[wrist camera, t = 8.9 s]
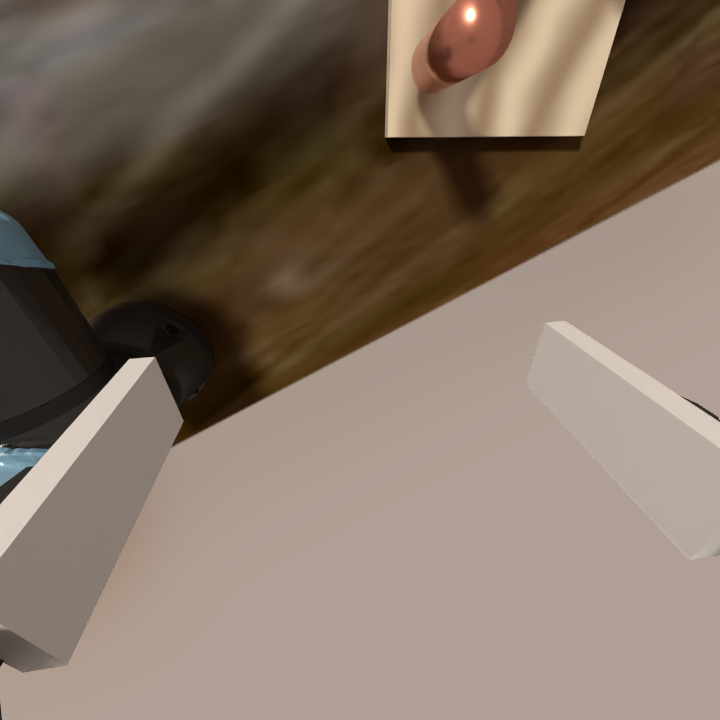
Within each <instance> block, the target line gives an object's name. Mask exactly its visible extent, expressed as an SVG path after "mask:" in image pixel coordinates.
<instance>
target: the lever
mask: <svg viewBox="0 0 720 720" xmlns="http://www.w3.org/2000/svg"><path fill="white" fill-rule="evenodd" d="M515 24H516V5H515V0H455V2H454V3H453V4H452V5H451V7H450V8H449V9H448V10H447V11H446V12H445V13H444V14H443V16H442V17H441V18H440V19H439V20H438V21H437V22H436V23H435V25H434V26H433V27H432V28H431V29H430V30H429V31H428V33H427V34H426V35H425V36H424V37H423V38H422V39H421V40H420V42H419V43H418V45H417V46H416V48H415V50H414V53H413V57H412V63H411V70H412V76H413V79H414V82H415V84H416V85H417V87H418V88H419V89H420V90H421V91H422V92H424V93H427V94H437V93H439V92H441V91H443V90H445V89H447V88H449V87H451V86H453V85H455V84H457V83H459V82H461V81H463V80H465V79H467V78H469V77H471V76H473V75H475V74H477V73H479V72H480V71H482V70H484V69H486V68H488V67H490V66H492V65H493V64H495V63H496V62H497V61H498V60H499V59H500V58H501V57H502V56H503V54H504V53H505V51H506V50H507V48H508V46H509V44H510V42H511V40H512V37H513V34H514V30H515Z"/></svg>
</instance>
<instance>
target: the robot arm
mask: <svg viewBox="0 0 720 720" xmlns="http://www.w3.org/2000/svg"><path fill="white" fill-rule="evenodd" d="M54 269H55V266H54V265H53V264H52V262H49V261H47V259H46V258H45V257H44V255H43V254H42V253H41V252H40V250H39V249H38V248H37V246H36V245H35V243H34V242H33V241H32V239H31V238H30V237H29V235H28V234H27V232H26V231H25V230H24V228H23V227H22V226H21V225H20V223H18V222H17V221H16V220H15V219H14V218H12V217H11V216H9V215H8V214H6V213H4V212H2V211H0V666H1V665H2V663H3V662H4V663H6V664H7V665H9V666H11V667H13V668H15V669H17V670H19V671H21V672H29V671H35V670H41V669H47V668H53V667H59V666H65V665H67V664H68V662H69V660H70V658H71V655H72V654H73V651H74V650H75V648H76V645H77V643H78V641H79V639H80V637H81V635H82V633H83V631H84V629H85V627H86V625H87V622H88V620H89V618H90V616H91V614H92V612H93V610H94V607H95V606H96V604H97V601H98V599H99V597H100V595H101V593H102V591H103V589H104V587H105V585H106V582H107V581H108V578H109V576H110V574H111V572H112V570H113V568H114V566H115V563H116V562H117V559H118V557H119V555H120V553H121V551H122V549H123V547H124V545H125V543H126V541H127V538H128V536H129V534H130V532H131V530H132V528H133V526H134V524H135V522H136V519H137V517H138V516H139V513H140V511H141V509H142V507H143V505H144V503H145V501H146V499H147V497H148V495H149V492H150V490H151V488H152V486H153V484H154V482H155V480H156V478H157V476H158V474H159V472H160V469H161V467H162V465H163V463H164V461H165V459H166V457H167V455H168V453H169V451H170V448H171V446H172V444H173V442H174V440H175V438H176V436H177V434H178V432H179V430H180V427H181V425H182V423H183V419H182V416H181V414H180V412H179V410H178V409H179V408H180V407H182V406H183V405H184V404H186V403H187V401H189V400H191V399H192V398H194V397H195V396H196V395H197V394H199V393H200V391H201V390H202V389H203V388H204V386H205V385H206V383H207V381H208V379H209V377H210V375H211V373H212V369H213V353H212V349H211V347H210V344H209V342H208V340H207V339H206V337H205V336H204V334H203V333H202V332H201V331H200V329H199V328H198V327H197V326H196V325H195V324H193V323H192V322H191V321H190V320H189V319H187V318H186V317H184V316H183V315H181V314H179V313H178V312H176V311H174V310H172V309H169V308H167V307H164V306H161V305H158V304H153V303H148V302H125V303H120V304H117V305H114V306H111V307H109V308H107V309H106V310H104V311H103V312H102V313H100V314H99V315H97V316H96V317H95V318H94V319H92V320H91V321H90V322H89V323H88V322H87V320H86V319H85V317H84V316H83V314H82V313H81V311H80V310H79V308H78V306H77V305H76V303H75V302H74V300H73V299H72V297H71V295H70V294H69V292H68V291H67V289H66V288H65V286H64V284H63V283H62V281H61V280H60V278H59V277H58V275H57V273H56V272H55V270H54ZM526 386H527V387H528V388H529V389H530V390H531V392H532V393H533V394H534V395H535V396H536V397H537V398H538V399H539V400H540V401H541V402H542V403H543V404H544V405H545V407H546V408H547V409H548V410H549V411H550V412H551V413H552V414H553V415H554V416H555V417H556V418H557V419H558V420H559V422H560V423H561V424H562V425H563V426H564V427H565V428H566V429H567V430H568V431H569V432H570V433H571V434H572V436H573V437H574V438H575V439H576V440H577V441H578V442H579V443H580V444H581V445H582V446H583V447H584V448H585V449H586V450H587V452H588V453H589V454H590V455H591V456H592V457H593V458H594V459H595V460H596V461H597V462H598V463H599V464H600V466H601V467H602V468H603V469H604V470H605V471H606V472H607V473H608V474H609V475H610V476H611V477H612V478H613V479H614V481H615V482H616V483H617V484H618V485H619V486H620V487H621V488H622V489H623V490H624V491H625V492H626V493H627V495H629V497H630V498H631V499H632V500H633V501H634V502H635V503H636V504H637V505H638V506H639V507H640V508H641V510H642V511H643V512H644V513H645V514H646V515H647V516H648V517H649V518H650V519H651V520H652V521H653V522H654V523H655V525H656V526H657V527H658V528H659V529H660V530H661V531H662V532H663V533H664V534H665V535H666V536H667V537H668V538H669V540H670V541H671V542H672V543H673V544H674V545H675V546H676V547H677V548H678V549H679V550H680V551H681V552H682V554H684V555H685V557H686V558H687V559H688V560H693V559H699V558H705V557H711V556H717V555H719V554H720V420H719V419H718V417H717V416H716V415H714V414H713V413H711V412H709V411H708V410H706V409H705V408H703V407H702V406H700V405H699V404H697V403H695V402H692V401H690V400H688V399H686V398H684V397H681V396H679V395H678V394H676V393H675V392H673V391H672V390H670V389H668V388H667V387H665V386H664V385H662V384H661V383H659V382H658V381H656V380H655V379H653V378H652V377H650V376H649V375H647V374H645V373H644V372H642V371H641V370H639V369H638V368H636V367H635V366H633V365H632V364H630V363H628V362H627V361H626V360H624V359H623V358H621V357H620V356H618V355H616V354H615V353H613V352H612V351H610V350H609V349H607V348H606V347H604V346H603V345H601V344H600V343H598V342H597V341H595V340H594V339H592V338H590V337H589V336H587V335H586V334H584V333H583V332H581V331H580V330H578V329H577V328H575V327H574V326H572V325H571V324H569V323H568V322H566V321H560V322H549V323H545V324H544V328H543V331H542V334H541V337H540V340H539V343H538V346H537V350H536V353H535V356H534V359H533V362H532V365H531V369H530V372H529V375H528V378H527V381H526ZM0 720H2V717H1V707H0Z"/></svg>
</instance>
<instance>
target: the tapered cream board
mask: <svg viewBox="0 0 720 720" xmlns="http://www.w3.org/2000/svg"><path fill="white" fill-rule="evenodd" d="M625 1H626V0H515V5H516V24H515V30H514V34H513V37H512V40H511V42H510V44H509V46H508V48H507V50H506V51H505V53H504V54H503V56H502V57H501V58H500V59H499V60H498V61H497V62H496V63H495V64H493V65H492V66H490V67H488V68H486V69H484V70H482V71H480V72H479V73H477V74H475V75H473V76H471V77H469V78H467V79H465V80H463V81H461V82H459V83H457V84H455V85H453V86H451V87H449V88H447V89H445V90H443V91H441V92H439V93H437V94H427V93H424V92H422V91H421V90H420V89H419V88H418V87H417V85H416V84H415V82H414V79H413V76H412V70H411V63H412V57H413V53H414V50H415V48H416V46H417V45H418V43H419V42H420V40H421V39H422V38H423V37H424V36H425V35H426V34H427V33H428V31H429V30H430V29H431V28H432V27H433V26H434V25H435V23H436V22H437V21H438V20H439V19H440V18H441V17H442V16H443V14H444V13H445V12H446V11H447V10H448V9H449V8H450V7H451V5H452V4H453V3H454V2H455V0H389V8H388V45H387V81H386V118H385V138H424V137H561V136H584V135H585V132H586V129H587V125H588V122H589V119H590V115H591V112H592V109H593V106H594V102H595V99H596V96H597V93H598V89H599V86H600V83H601V79H602V76H603V73H604V70H605V66H606V63H607V60H608V56H609V53H610V50H611V47H612V43H613V40H614V37H615V33H616V30H617V27H618V24H619V20H620V17H621V14H622V10H623V7H624V4H625Z"/></svg>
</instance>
